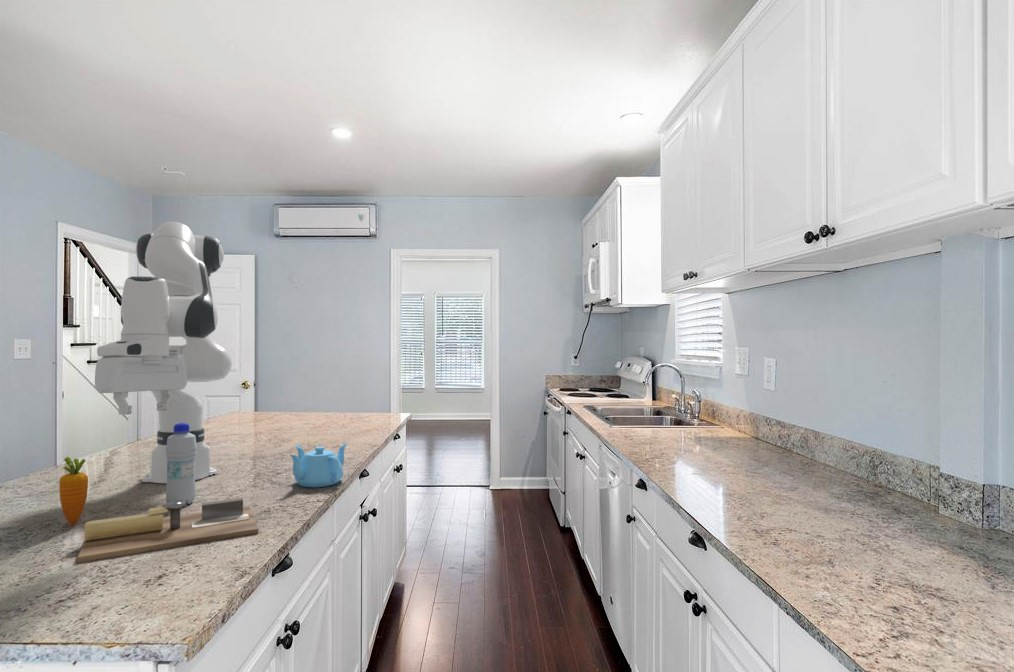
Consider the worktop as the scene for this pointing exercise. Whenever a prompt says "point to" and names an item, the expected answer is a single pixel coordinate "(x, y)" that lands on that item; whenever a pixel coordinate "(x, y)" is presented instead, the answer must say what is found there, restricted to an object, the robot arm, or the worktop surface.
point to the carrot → (73, 491)
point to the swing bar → (130, 523)
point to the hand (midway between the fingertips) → (144, 412)
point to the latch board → (178, 531)
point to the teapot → (318, 467)
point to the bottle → (181, 464)
